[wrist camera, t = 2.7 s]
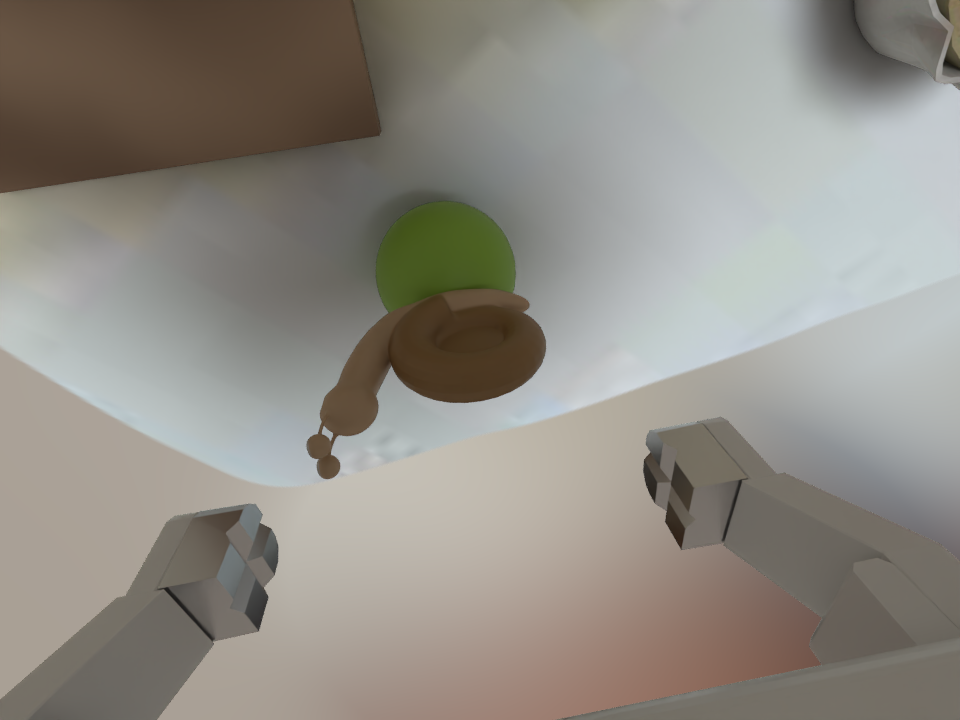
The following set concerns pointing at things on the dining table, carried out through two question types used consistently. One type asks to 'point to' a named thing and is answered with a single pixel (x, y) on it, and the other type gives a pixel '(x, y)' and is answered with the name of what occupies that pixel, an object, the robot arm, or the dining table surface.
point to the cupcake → (915, 33)
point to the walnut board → (173, 84)
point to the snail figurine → (436, 322)
